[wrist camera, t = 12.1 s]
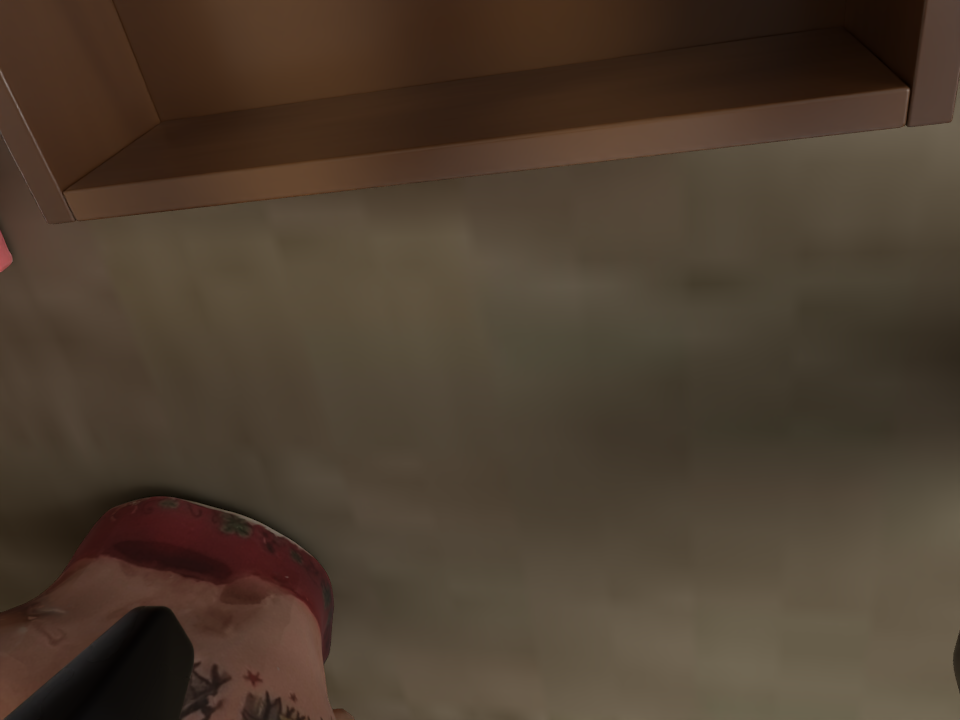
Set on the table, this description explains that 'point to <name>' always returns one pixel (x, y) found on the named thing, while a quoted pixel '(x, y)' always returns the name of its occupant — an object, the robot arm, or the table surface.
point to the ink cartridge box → (4, 254)
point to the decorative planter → (188, 610)
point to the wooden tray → (435, 89)
